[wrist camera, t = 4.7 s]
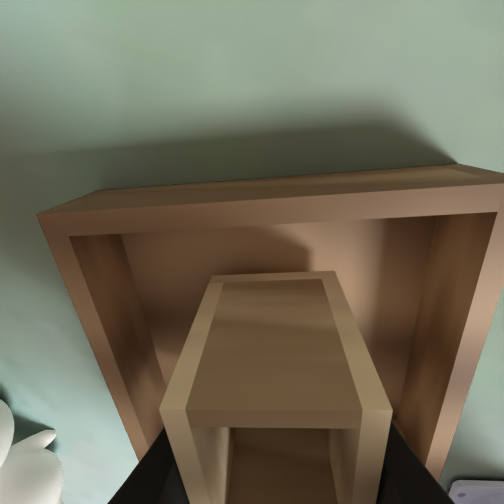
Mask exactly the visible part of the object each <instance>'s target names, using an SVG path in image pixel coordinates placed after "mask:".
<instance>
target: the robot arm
mask: <svg viewBox="0 0 504 504" xmlns="http://www.w3.org/2000/svg"><path fill="white" fill-rule="evenodd" d="M108 504H190V502H189V499H188V496H187V493H186V490H185V487H184V484H183V481H182V478H181V475H180V472H179V469H178V466H177V463H176V460H175V457H174V454H173V451H172V448H171V444H170V441H169V438H168V435H167V432H166V429H165V426H164V427H163V429H162V430H161V432H160V433H159V435H158V436H157V438H156V439H155V441H154V442H153V444H152V445H151V447H150V448H149V449H148V451H147V452H146V454H145V455H144V456H143V458H142V459H141V461H140V462H139V463H138V465H137V466H136V467H135V469H134V470H133V471H132V473H131V474H130V476H129V477H128V478H127V480H126V481H125V482H124V483H123V485H122V486H121V487H120V489H119V490H118V491H117V492H116V494H115V495H114V496H113V497H112V499H111V500H110V501H109V502H108ZM376 504H504V481H482V480H457V481H455V482H453V484H452V486H451V489H450V492H449V494H447V493H446V492H445V491H444V489H443V488H442V487H441V486H440V484H439V483H438V482H437V481H436V479H435V478H434V477H433V476H432V475H431V473H430V472H429V471H428V469H427V468H426V467H425V466H424V464H423V463H422V462H421V460H420V459H419V458H418V456H417V455H416V454H415V452H414V451H413V450H412V448H411V447H410V446H409V444H408V443H407V442H406V440H405V439H404V438H403V436H402V435H401V433H400V432H399V431H398V429H397V428H396V426H395V425H394V424H393V422H392V421H391V423H390V429H389V434H388V439H387V445H386V450H385V456H384V461H383V467H382V472H381V478H380V483H379V488H378V494H377V499H376Z"/></svg>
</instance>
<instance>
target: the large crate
mask: <svg viewBox="0 0 504 504" xmlns="http://www.w3.org/2000/svg"><path fill="white" fill-rule="evenodd" d="M36 215H37V218H38V220H39V223H40V225H41V227H42V230H43V232H44V235H45V237H46V240H47V242H48V244H49V247H50V249H51V252H52V254H53V256H54V259H55V261H56V264H57V266H58V268H59V271H60V273H61V276H62V278H63V280H64V283H65V285H66V288H67V290H68V292H69V295H70V297H71V300H72V302H73V304H74V307H75V309H76V312H77V314H78V317H79V319H80V321H81V324H82V326H83V329H84V331H85V333H86V336H87V338H88V341H89V343H90V345H91V348H92V350H93V353H94V355H95V357H96V360H97V362H98V365H99V367H100V369H101V372H102V374H103V377H104V379H105V381H106V384H107V386H108V389H109V391H110V393H111V396H112V398H113V401H114V403H115V406H116V408H117V410H118V413H119V415H120V418H121V420H122V422H123V425H124V427H125V430H126V432H127V434H128V437H129V439H130V442H131V444H132V446H133V449H134V451H135V454H136V456H137V458H138V461H139V462H140V461H141V459H142V458H143V456H144V455H145V454H146V452H147V451H148V449H149V448H150V447H151V445H152V444H153V442H154V441H155V439H156V438H157V436H158V435H159V433H160V432H161V430H162V429H163V427H164V423H163V420H162V417H161V414H160V411H159V408H160V405H161V403H162V400H163V398H164V395H165V393H166V390H167V387H168V385H169V382H170V380H171V377H172V375H173V372H174V370H175V367H176V365H177V362H178V360H179V357H180V355H181V352H182V350H183V347H184V344H185V342H186V339H187V337H188V334H189V332H190V329H191V327H192V324H193V322H194V319H195V317H196V314H197V312H198V309H199V306H200V304H201V301H202V299H203V296H204V294H205V291H206V289H207V286H208V284H209V281H210V279H211V276H214V275H238V274H262V273H286V272H310V271H334V270H335V273H336V275H337V278H338V280H339V282H340V285H341V287H342V290H343V292H344V294H345V297H346V299H347V302H348V304H349V306H350V309H351V311H352V314H353V316H354V318H355V321H356V323H357V326H358V328H359V330H360V333H361V335H362V338H363V340H364V342H365V345H366V347H367V350H368V352H369V354H370V357H371V359H372V361H373V364H374V366H375V369H376V371H377V373H378V376H379V378H380V381H381V383H382V385H383V388H384V390H385V393H386V395H387V397H388V400H389V402H390V405H391V407H392V409H393V412H392V418H391V421H392V422H393V424H394V425H395V426H396V428H397V429H398V431H399V432H400V433H401V435H402V436H403V438H404V439H405V440H406V442H407V443H408V444H409V446H410V447H411V448H412V450H413V451H414V452H415V454H416V455H417V456H418V458H419V459H420V460H421V462H422V463H423V464H424V466H425V467H426V468H427V469H428V471H429V472H430V473H431V475H432V476H433V477H434V478H435V479H436V481H437V482H439V479H440V476H441V473H442V470H443V467H444V464H445V461H446V458H447V455H448V452H449V449H450V446H451V443H452V440H453V437H454V434H455V431H456V428H457V425H458V422H459V419H460V416H461V413H462V410H463V407H464V404H465V401H466V397H467V394H468V391H469V388H470V385H471V382H472V379H473V376H474V373H475V370H476V367H477V364H478V361H479V358H480V355H481V352H482V349H483V346H484V343H485V340H486V337H487V334H488V331H489V328H490V325H491V322H492V319H493V316H494V313H495V310H496V307H497V304H498V301H499V298H500V295H501V292H502V289H503V286H504V173H500V172H495V171H490V170H486V169H481V168H477V167H472V166H468V165H463V164H449V165H435V166H422V167H408V168H395V169H381V170H368V171H354V172H341V173H327V174H313V175H300V176H286V177H273V178H259V179H246V180H232V181H219V182H205V183H192V184H178V185H164V186H151V187H137V188H124V189H110V190H98V191H95V192H93V193H90V194H88V195H85V196H82V197H80V198H77V199H75V200H72V201H69V202H67V203H64V204H62V205H59V206H57V207H54V208H51V209H49V210H46V211H44V212H41V213H38V214H36Z"/></svg>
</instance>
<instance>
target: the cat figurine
mask: <svg viewBox="0 0 504 504" xmlns="http://www.w3.org/2000/svg"><path fill="white" fill-rule="evenodd" d="M13 435H14V419H13V414H12V412H11V410H10V409H9V407H8V406H7V404H6V403H5V402H4V401H2V400H1V399H0V504H63V502H62V488H63V479H64V475H63V467H62V464H61V461H60V459H59V458H58V457H57V455H56V454H55V453H53V452H51V451H50V450H48V449H45V447H46V446H47V445H48V444H50V443H51V442H52V440H53V439H54V438H55V437H56V431H55V430H44V431H41V432H39V433H37V434H34V435H32V436H30V437H28V438H26V439H24V440H22V441H20V442H18V443H16V444H14V445H12V446H11V443H12V440H13Z"/></svg>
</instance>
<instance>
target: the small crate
mask: <svg viewBox="0 0 504 504" xmlns="http://www.w3.org/2000/svg"><path fill="white" fill-rule="evenodd" d="M159 411H160V414H161V417H162V420H163V423H164V426H165V429H166V432H167V435H168V438H169V441H170V444H171V448H172V451H173V454H174V457H175V460H176V463H177V466H178V469H179V472H180V475H181V478H182V481H183V484H184V487H185V490H186V493H187V496H188V499H189V502H190V504H376V499H377V494H378V488H379V483H380V478H381V472H382V467H383V461H384V456H385V450H386V445H387V439H388V434H389V429H390V423H391V418H392V412H393V409H392V407H391V405H390V402H389V400H388V397H387V395H386V393H385V390H384V388H383V385H382V383H381V381H380V378H379V376H378V373H377V371H376V369H375V366H374V364H373V361H372V359H371V357H370V354H369V352H368V350H367V347H366V345H365V342H364V340H363V338H362V335H361V333H360V330H359V328H358V326H357V323H356V321H355V318H354V316H353V314H352V311H351V309H350V306H349V304H348V302H347V299H346V297H345V294H344V292H343V290H342V287H341V285H340V282H339V280H338V278H337V275H336V273H335V270H334V271H310V272H286V273H262V274H238V275H214V276H211V279H210V281H209V284H208V286H207V289H206V291H205V294H204V296H203V299H202V301H201V304H200V306H199V309H198V312H197V314H196V317H195V319H194V322H193V324H192V327H191V329H190V332H189V334H188V337H187V339H186V342H185V344H184V347H183V350H182V352H181V355H180V357H179V360H178V362H177V365H176V367H175V370H174V372H173V375H172V377H171V380H170V382H169V385H168V387H167V390H166V393H165V395H164V398H163V400H162V403H161V405H160V408H159Z"/></svg>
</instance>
